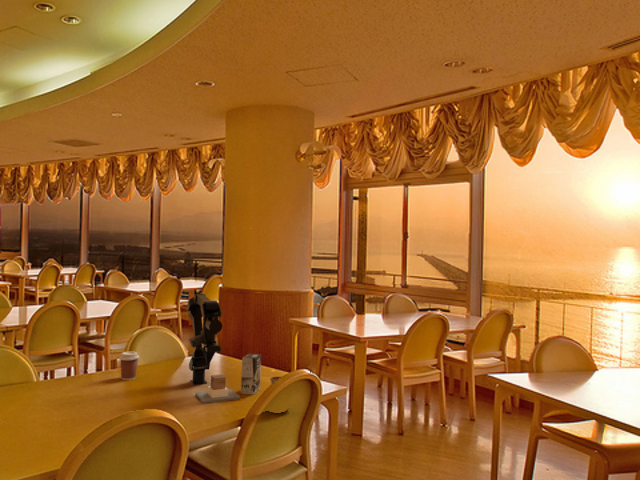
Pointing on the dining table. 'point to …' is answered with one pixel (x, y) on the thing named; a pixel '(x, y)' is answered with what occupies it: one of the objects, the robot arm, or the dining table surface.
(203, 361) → the robot arm
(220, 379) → the walnut block
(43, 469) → the dining table surface
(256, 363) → the coffee box
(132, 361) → the coffee cup
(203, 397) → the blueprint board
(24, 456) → the dining table surface
